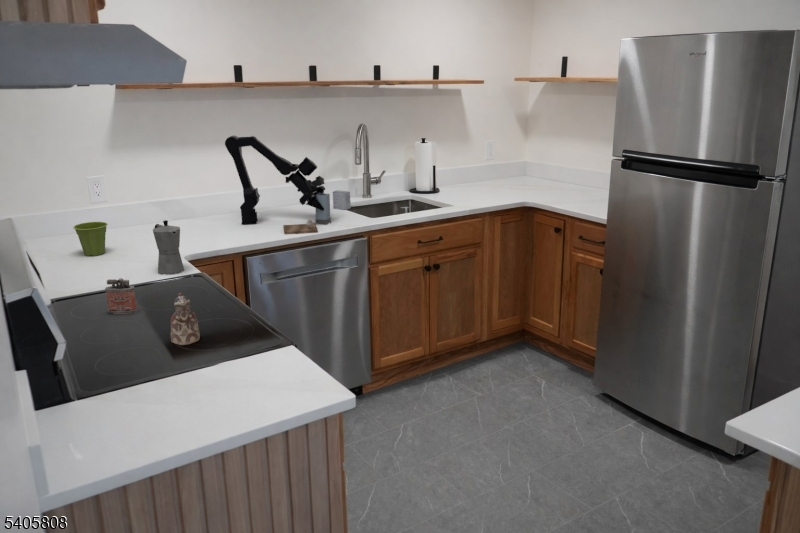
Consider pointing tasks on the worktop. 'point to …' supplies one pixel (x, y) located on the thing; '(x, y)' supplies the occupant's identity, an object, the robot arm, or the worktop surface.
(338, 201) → the medicine box
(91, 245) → the plant pot
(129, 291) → the lighter
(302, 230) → the pin board
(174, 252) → the coffeepot
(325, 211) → the sleeve
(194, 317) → the figurine
